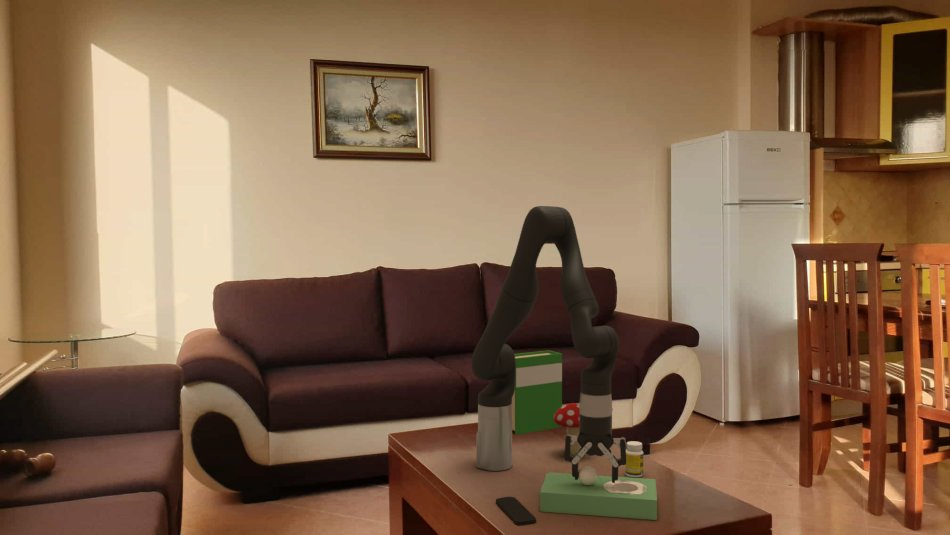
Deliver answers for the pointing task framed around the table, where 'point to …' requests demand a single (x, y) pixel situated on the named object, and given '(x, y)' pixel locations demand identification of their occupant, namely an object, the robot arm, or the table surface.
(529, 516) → the remote control
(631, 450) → the supplement bottle
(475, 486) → the table surface
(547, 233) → the robot arm
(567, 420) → the decorative mushroom
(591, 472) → the ball
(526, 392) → the hardback book
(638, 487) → the green flat block
